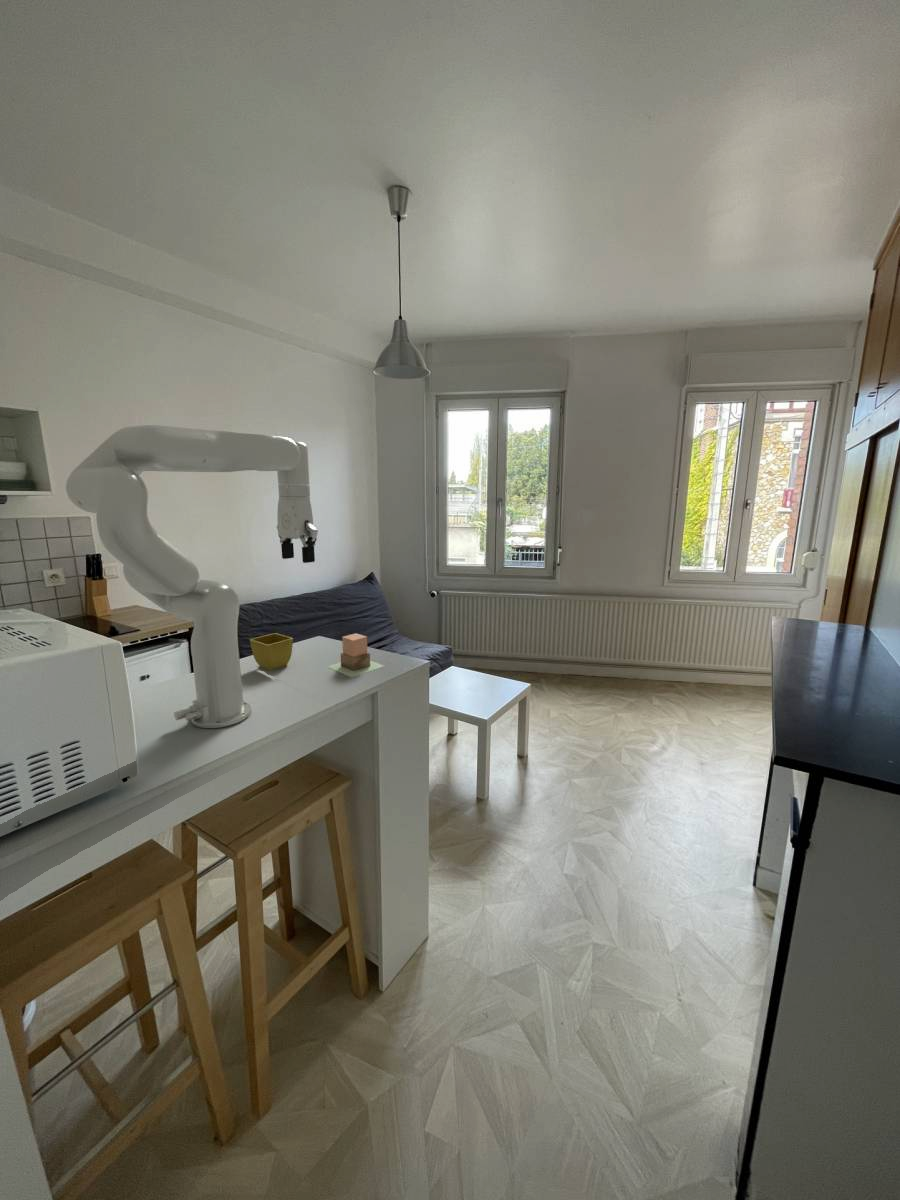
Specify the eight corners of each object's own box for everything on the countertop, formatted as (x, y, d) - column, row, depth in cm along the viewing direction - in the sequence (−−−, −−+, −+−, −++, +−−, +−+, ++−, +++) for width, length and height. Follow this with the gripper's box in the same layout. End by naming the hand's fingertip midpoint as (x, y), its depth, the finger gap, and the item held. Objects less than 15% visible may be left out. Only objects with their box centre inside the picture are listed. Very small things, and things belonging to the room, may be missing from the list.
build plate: (351, 679, 136) (351, 677, 135) (326, 669, 143) (326, 666, 143) (384, 668, 144) (384, 665, 144) (359, 658, 152) (359, 656, 152)
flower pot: (277, 660, 150) (275, 632, 148) (295, 666, 145) (293, 637, 143) (251, 668, 143) (248, 639, 141) (269, 675, 138) (267, 645, 136)
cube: (353, 657, 139) (352, 640, 138) (342, 653, 143) (342, 636, 141) (367, 653, 143) (366, 636, 142) (356, 649, 146) (356, 633, 145)
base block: (353, 671, 140) (353, 658, 139) (341, 666, 143) (340, 653, 143) (370, 666, 144) (369, 653, 143) (357, 661, 148) (357, 648, 147)
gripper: (263, 492, 126) (267, 558, 130) (300, 493, 115) (304, 565, 119) (289, 492, 132) (293, 555, 136) (327, 493, 121) (330, 562, 125)
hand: (298, 560), depth 127 cm, fingers open, 9 cm apart
